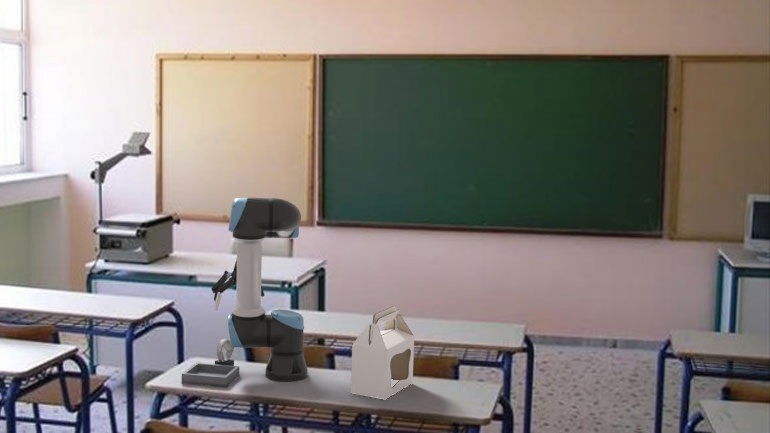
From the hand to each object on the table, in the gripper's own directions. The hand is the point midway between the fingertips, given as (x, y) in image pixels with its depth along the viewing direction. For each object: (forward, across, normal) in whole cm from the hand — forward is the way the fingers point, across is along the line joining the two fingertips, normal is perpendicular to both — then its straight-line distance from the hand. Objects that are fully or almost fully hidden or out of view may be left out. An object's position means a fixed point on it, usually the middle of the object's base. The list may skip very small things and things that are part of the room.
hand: (233, 309), depth 351 cm
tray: (+31, 0, +4) cm, 31 cm away
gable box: (+28, -60, 0) cm, 66 cm away
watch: (+21, 0, -7) cm, 22 cm away
